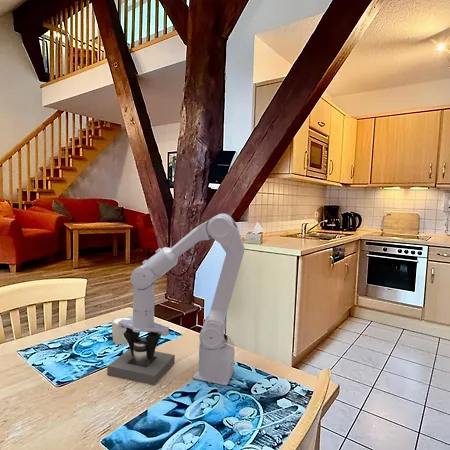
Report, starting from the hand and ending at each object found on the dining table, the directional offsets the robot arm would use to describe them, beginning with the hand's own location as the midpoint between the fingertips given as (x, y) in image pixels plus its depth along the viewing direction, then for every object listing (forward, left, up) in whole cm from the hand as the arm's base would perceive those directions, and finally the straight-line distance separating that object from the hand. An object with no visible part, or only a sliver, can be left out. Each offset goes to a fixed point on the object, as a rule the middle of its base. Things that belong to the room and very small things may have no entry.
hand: (142, 356), depth 93 cm
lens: (0, 0, -2) cm, 2 cm away
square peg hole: (0, 0, -4) cm, 4 cm away
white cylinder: (+15, -13, -4) cm, 20 cm away
